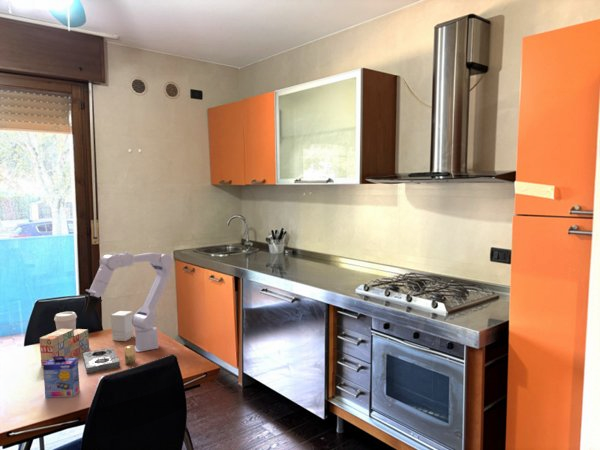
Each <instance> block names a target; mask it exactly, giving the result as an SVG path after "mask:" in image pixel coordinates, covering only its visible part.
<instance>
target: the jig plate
mask: <svg viewBox="0 0 600 450" xmlns="http://www.w3.org/2000/svg"><path fill="white" fill-rule="evenodd" d="M82 359H83V363H84V367H85V371H86V374H87V375H90V374H94V373H100V372H104V371H109V370H113V369H114V370H115V369H119V368H120V367H121V365H120V363H121V362H120V360H119V357H118V355H117V353H116V351H115V349H114V347H109V348H104V349H103V348H102V349H97V350H91V351H84V352H83V353H82Z"/></svg>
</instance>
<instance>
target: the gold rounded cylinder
mask: <svg viewBox="0 0 600 450" xmlns="http://www.w3.org/2000/svg"><path fill="white" fill-rule="evenodd" d="M135 346H136V345H134V344H129V345H126V346H124V362H125V366H132V365H135V364H136V350H135Z"/></svg>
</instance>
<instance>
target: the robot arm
mask: <svg viewBox="0 0 600 450" xmlns="http://www.w3.org/2000/svg"><path fill="white" fill-rule="evenodd" d="M140 262H141V263H142V262H147V263H149V264H150V265H151V267H152V268H153V269H154V270H155V272H156V277H155V279H154V280H153V284H152V286H151V287H150V290H149V292H148V295H147V296H146V299H145V300H144V303H143V305H142V306H141V307H139V308H137V310H136V312H135V314H133V317H132V320H131V322H132V325H133V327H134V338H135V345H134V346H135V353H141V352H145V351H149V350H151V351H152V350H155V349H159V335H158V334H159V333H158V329H157V328H158V327H156V326H155V324H156V318H157V313H156V311H155V310H156V308H157V306H158V303H159V301H160V299H161V297H162V295H163V293H164V290H165V288H166V286H167V283H168V281H169V279H170V277H171V273H172V272H171V270H172V266H173V264H174V261H173V258H172V256H171V255H170V254H169V253H158V252H144V253H139V254H133V253H131V252H128V251H124V252H123V253H113V254H105V255H103V256H102V257H101V258H100V259H99V267H98V270H97V272H96V274H95V277H94V278H93V281H92V283H91V285H90V288H89V289H88V288H87V289H85V291H86V292H88V293H89V294H88V295H85V296H84V299H85V300H84V307H83V310H82V314H84V315H87V316H91V315H92V314H93V312H94V311H95V309H96V308H97V307H98V305H100V304H101V303H102V301H103V299H101V298H103V297H104V295H105V292H106V290H107V287H108V285H109V283H110V281H111V278H112V276H113V274H114V272H115V270H117V269H119V268H124V267H125V268H127V267H131V266H133V265H134V263H140ZM100 297H101V298H100Z"/></svg>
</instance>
